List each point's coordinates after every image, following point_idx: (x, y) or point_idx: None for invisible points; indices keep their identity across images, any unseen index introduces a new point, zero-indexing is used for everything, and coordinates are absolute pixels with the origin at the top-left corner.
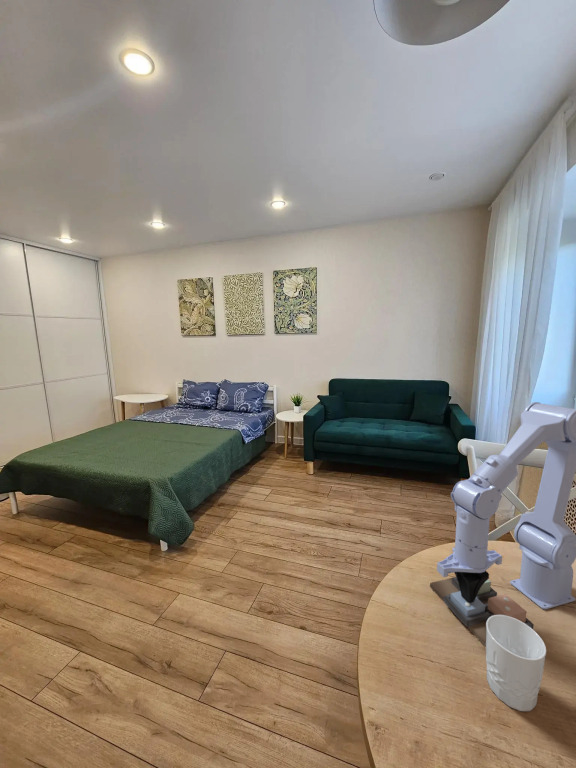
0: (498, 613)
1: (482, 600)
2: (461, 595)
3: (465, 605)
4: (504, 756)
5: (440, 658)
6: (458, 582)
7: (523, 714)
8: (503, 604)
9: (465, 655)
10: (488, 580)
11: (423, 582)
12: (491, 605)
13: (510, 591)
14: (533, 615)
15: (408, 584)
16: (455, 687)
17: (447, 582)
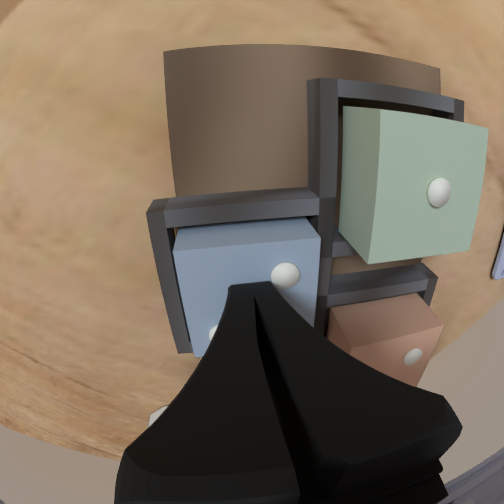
0: None
1: None
2: (229, 289)
3: (206, 335)
4: (116, 458)
5: (57, 362)
6: (212, 341)
7: None
8: None
9: (128, 372)
10: (466, 240)
11: (151, 22)
12: (339, 347)
13: (492, 193)
14: (457, 286)
15: (60, 37)
16: (73, 405)
17: (284, 69)
